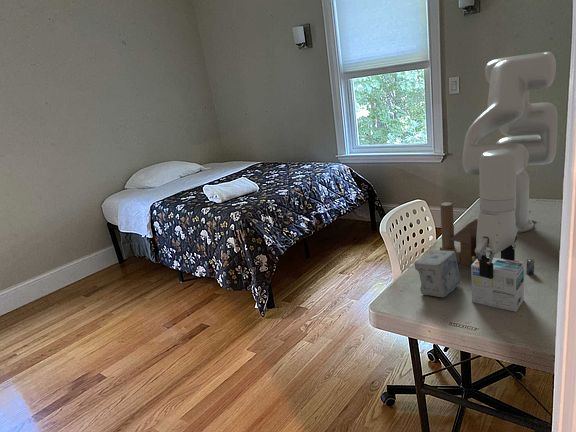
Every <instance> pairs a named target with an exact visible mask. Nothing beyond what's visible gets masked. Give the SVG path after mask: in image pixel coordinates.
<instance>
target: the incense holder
mask: <svg viewBox="0 0 576 432" xmlns="http://www.w3.org/2000/svg"><path fill="white" fill-rule="evenodd" d="M414 269H415V271H417V272H418V275H419V279H420V287H419V289H420V293H421V295H424V296H432V297H438V298H446V297H447V296H448V295H449V294H452V293H453V291H454V290H455V288H456V287H457V286H458V285H460V284H461V276H460V270H459V265H458V262H457V259H456V253H455V252H454V251H440V249H439V250H433V249H432V250H430V251H429V254H428V255H426V256H425V257H424V258H422V259H420V260H416V261H415V262H414Z"/></svg>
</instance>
